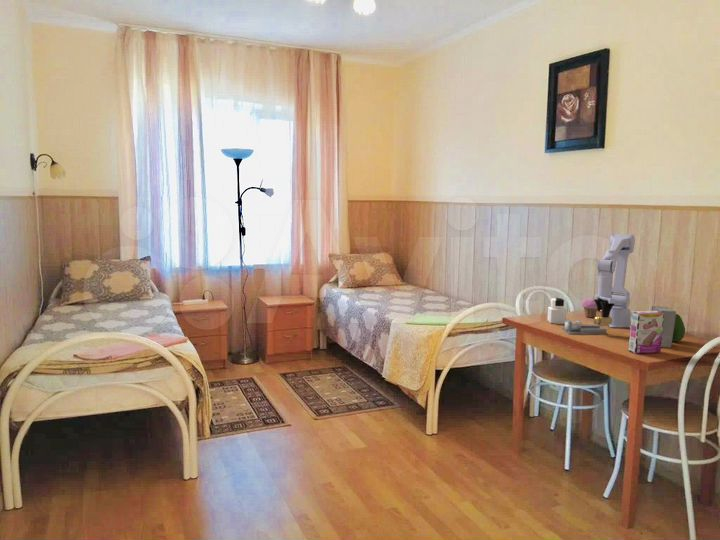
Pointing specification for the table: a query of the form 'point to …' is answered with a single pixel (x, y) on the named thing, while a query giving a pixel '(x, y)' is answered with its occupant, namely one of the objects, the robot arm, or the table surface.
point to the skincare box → (666, 324)
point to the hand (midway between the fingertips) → (603, 316)
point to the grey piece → (582, 328)
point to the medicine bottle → (557, 311)
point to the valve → (602, 319)
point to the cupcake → (589, 307)
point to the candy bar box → (646, 332)
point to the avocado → (678, 329)
